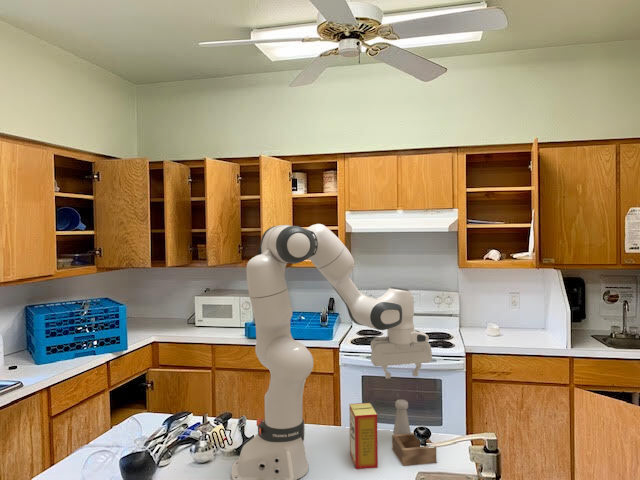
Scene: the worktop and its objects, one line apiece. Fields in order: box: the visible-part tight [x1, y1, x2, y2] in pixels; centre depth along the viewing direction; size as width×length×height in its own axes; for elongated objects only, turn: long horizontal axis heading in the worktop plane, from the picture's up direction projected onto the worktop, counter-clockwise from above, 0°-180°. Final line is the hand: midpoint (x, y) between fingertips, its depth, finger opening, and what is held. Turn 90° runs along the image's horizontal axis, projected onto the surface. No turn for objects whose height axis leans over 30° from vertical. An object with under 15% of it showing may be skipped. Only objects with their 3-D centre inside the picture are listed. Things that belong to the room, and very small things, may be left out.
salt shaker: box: [392, 399, 412, 435], centre depth 148 cm, size 6×6×13 cm
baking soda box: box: [349, 402, 379, 470], centre depth 135 cm, size 10×6×16 cm
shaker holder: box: [391, 432, 437, 467], centre depth 137 cm, size 10×10×5 cm
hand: (401, 377), depth 148 cm, fingers open, 8 cm apart
